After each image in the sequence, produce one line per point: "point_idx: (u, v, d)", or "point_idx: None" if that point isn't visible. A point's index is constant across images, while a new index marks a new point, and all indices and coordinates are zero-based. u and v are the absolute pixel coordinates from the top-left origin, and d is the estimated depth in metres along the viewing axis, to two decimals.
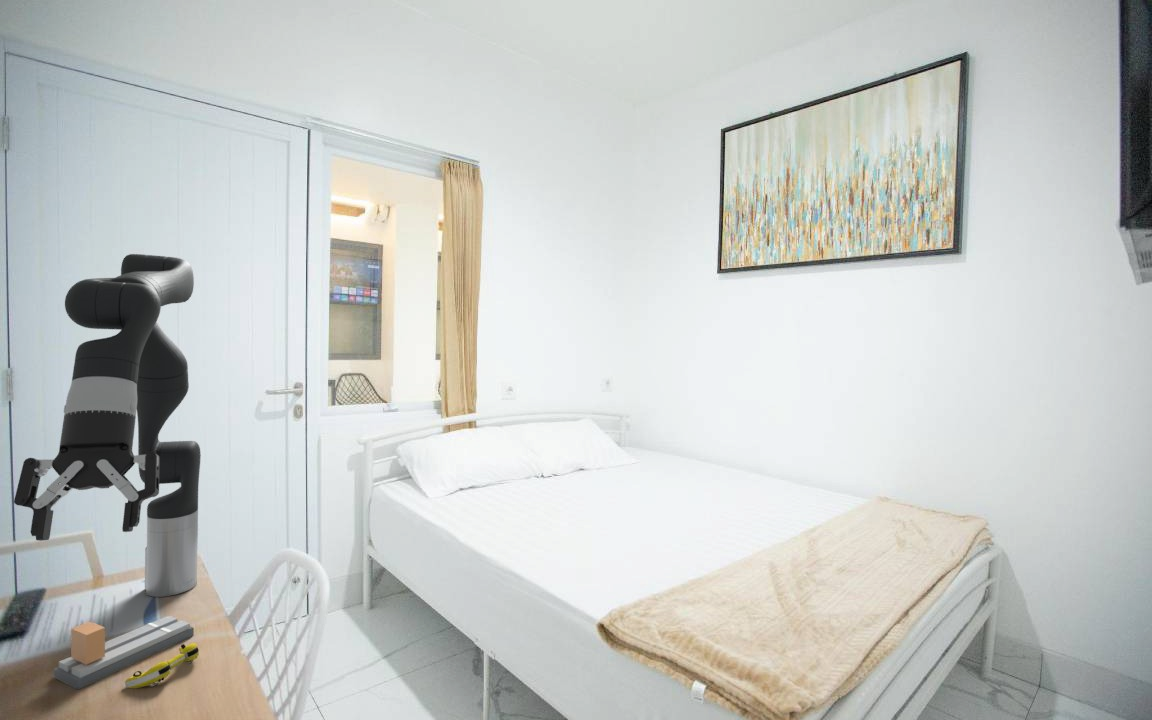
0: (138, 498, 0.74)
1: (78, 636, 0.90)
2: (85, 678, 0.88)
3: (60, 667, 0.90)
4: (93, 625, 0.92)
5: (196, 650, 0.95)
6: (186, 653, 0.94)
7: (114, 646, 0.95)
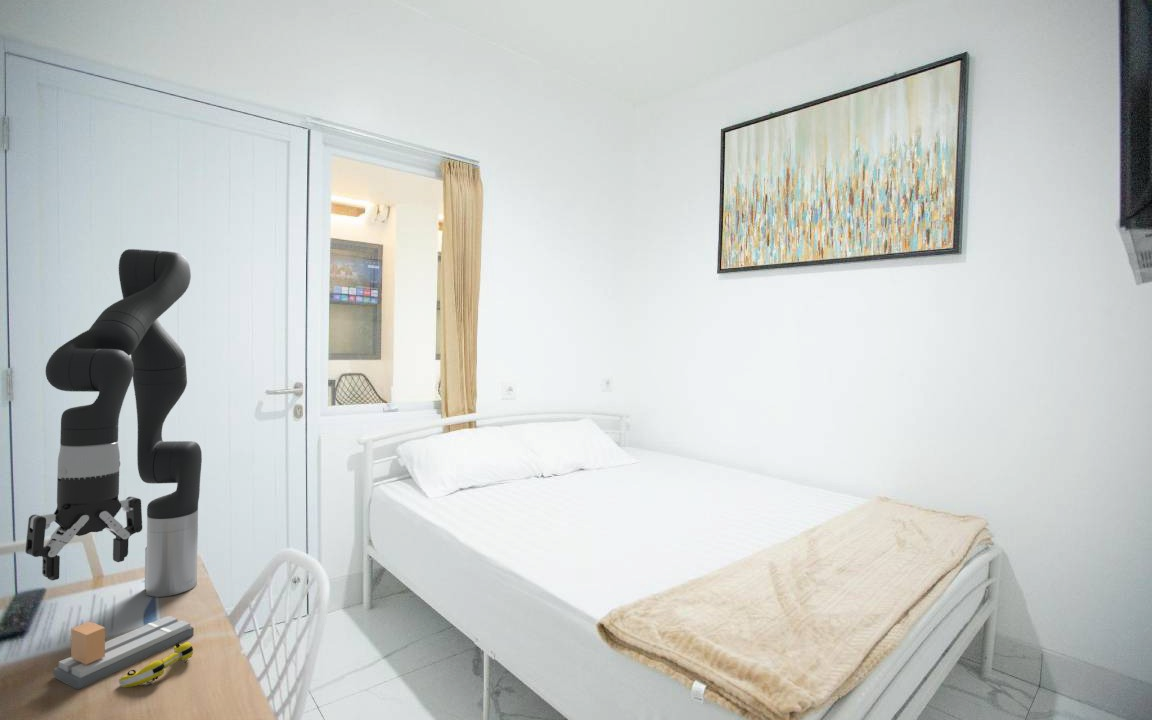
0: None
1: (78, 636, 0.90)
2: (85, 678, 0.88)
3: (60, 667, 0.90)
4: (93, 625, 0.92)
5: (190, 649, 0.95)
6: (181, 652, 0.94)
7: (114, 646, 0.95)
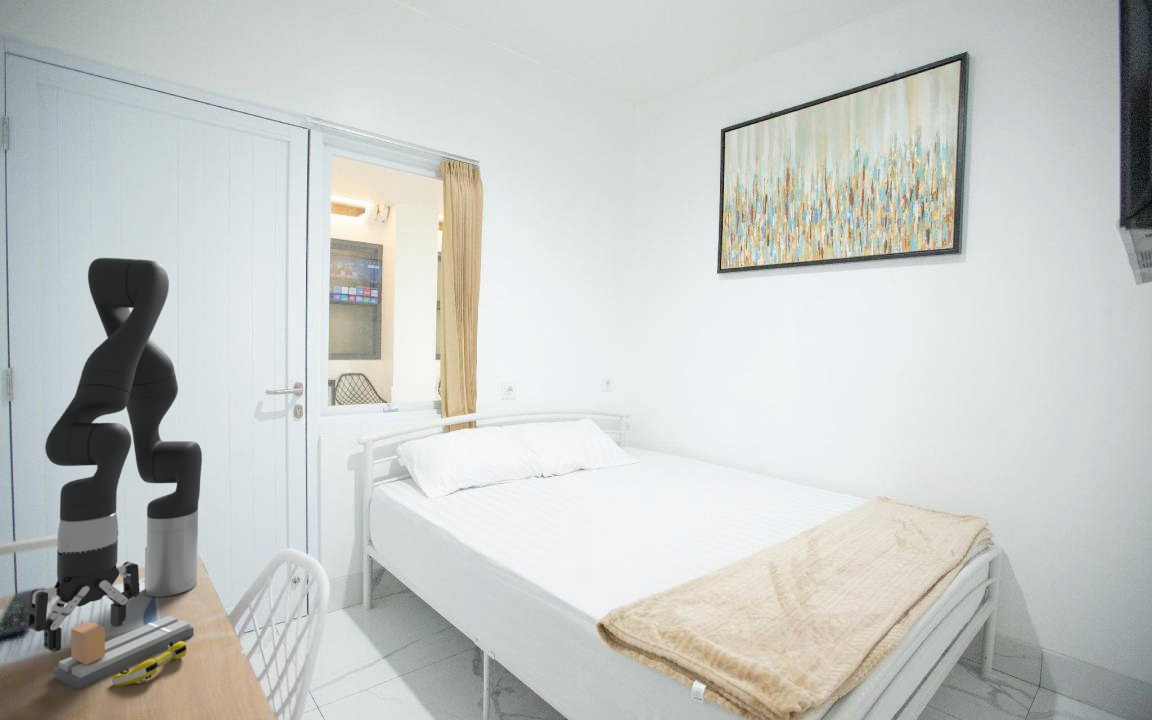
0: None
1: (78, 636, 0.90)
2: (85, 678, 0.88)
3: (60, 667, 0.90)
4: (93, 625, 0.92)
5: (184, 648, 0.95)
6: (174, 651, 0.94)
7: (114, 646, 0.95)
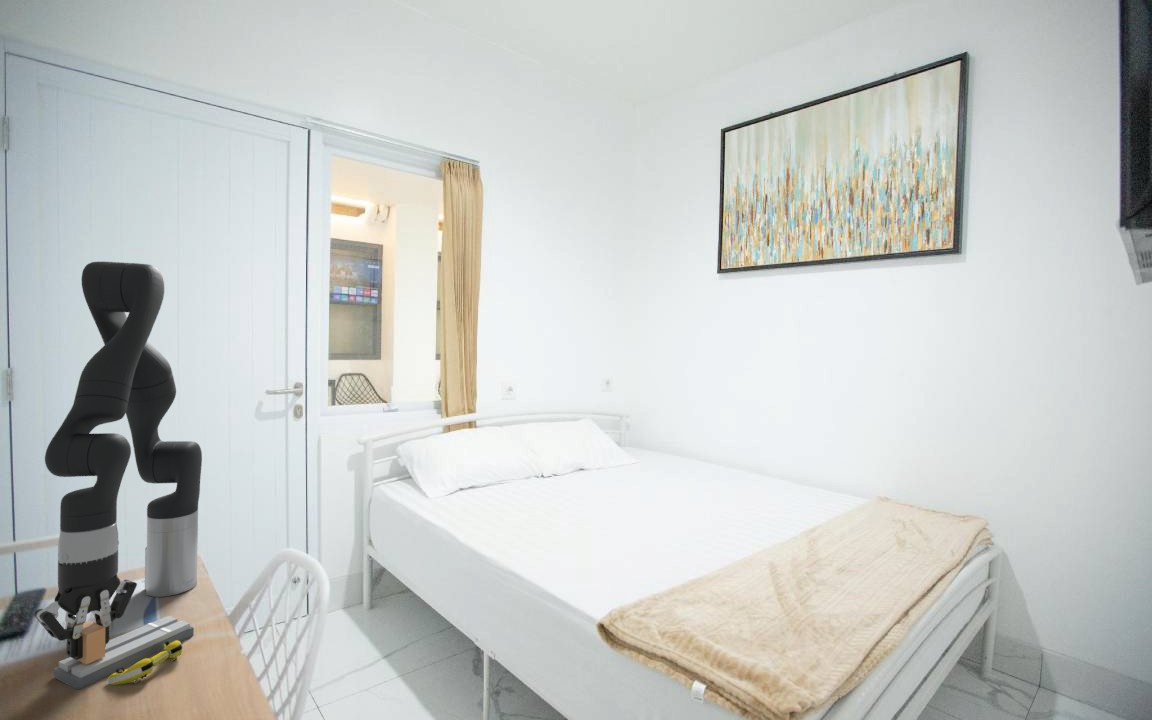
0: None
1: None
2: (85, 678, 0.88)
3: (60, 667, 0.90)
4: (93, 625, 0.92)
5: (180, 647, 0.95)
6: (170, 650, 0.95)
7: (114, 646, 0.95)
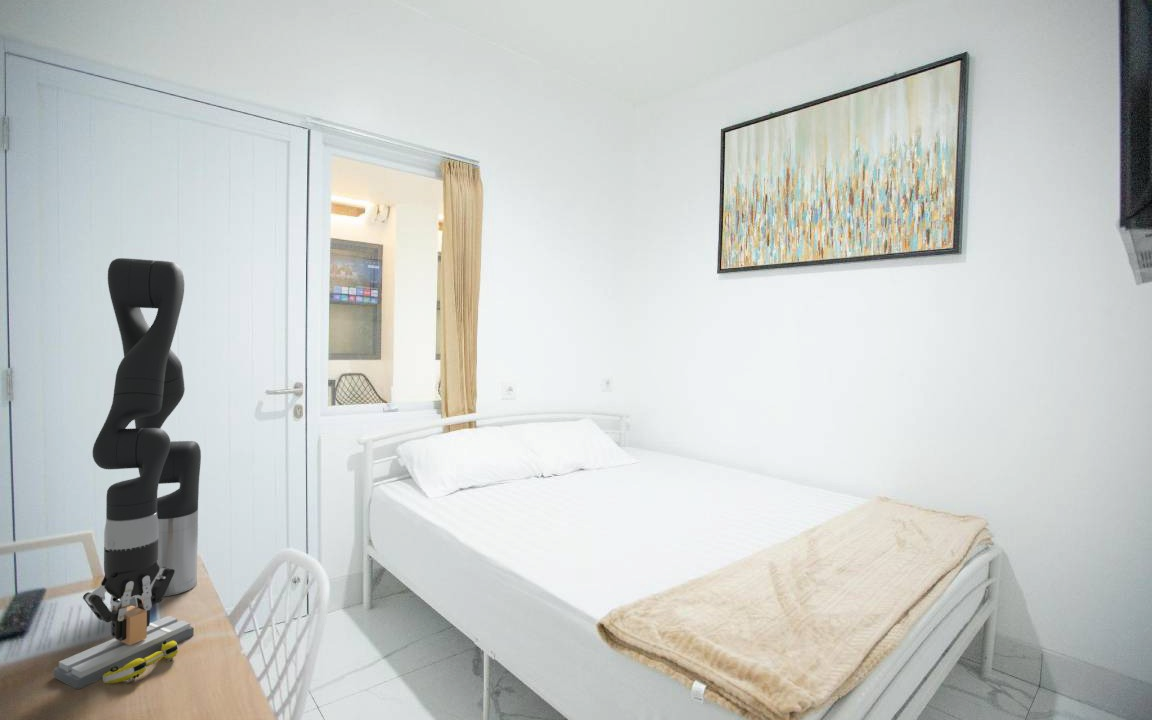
0: None
1: None
2: (85, 678, 0.88)
3: (60, 667, 0.90)
4: (135, 608, 0.98)
5: (175, 648, 0.95)
6: (165, 650, 0.94)
7: (114, 646, 0.95)
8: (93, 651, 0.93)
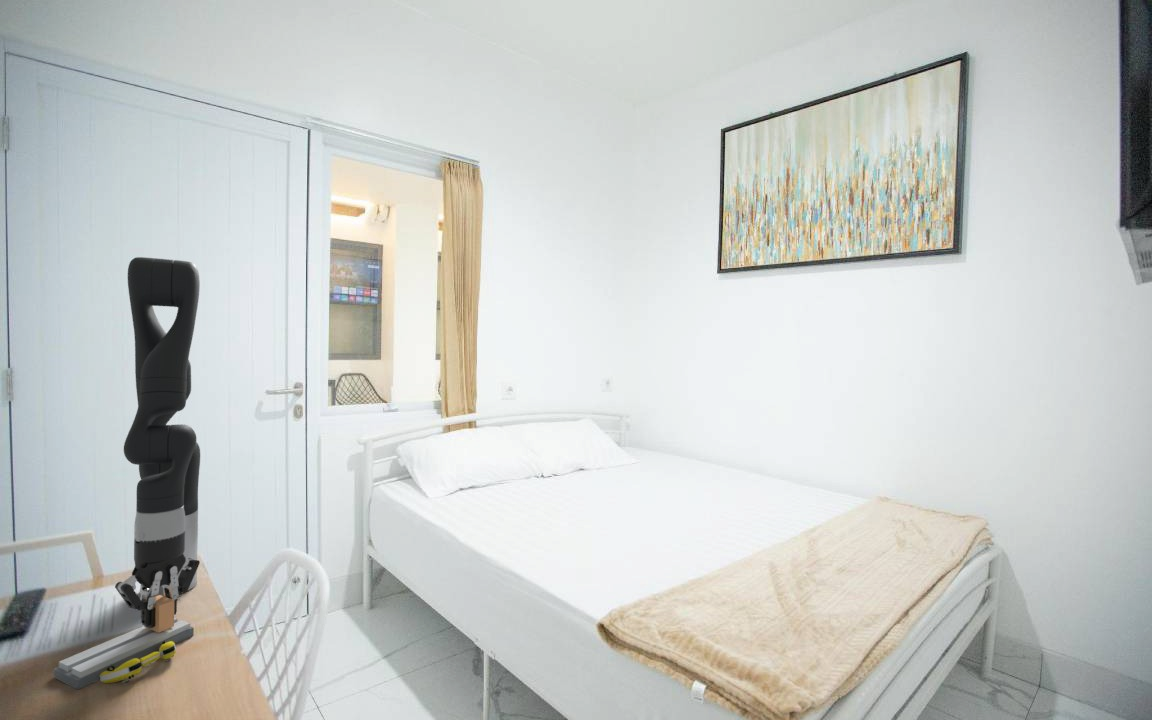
0: None
1: None
2: (85, 678, 0.88)
3: (60, 667, 0.90)
4: (163, 598, 1.02)
5: (171, 649, 0.95)
6: (162, 651, 0.94)
7: (114, 646, 0.95)
8: (93, 651, 0.93)
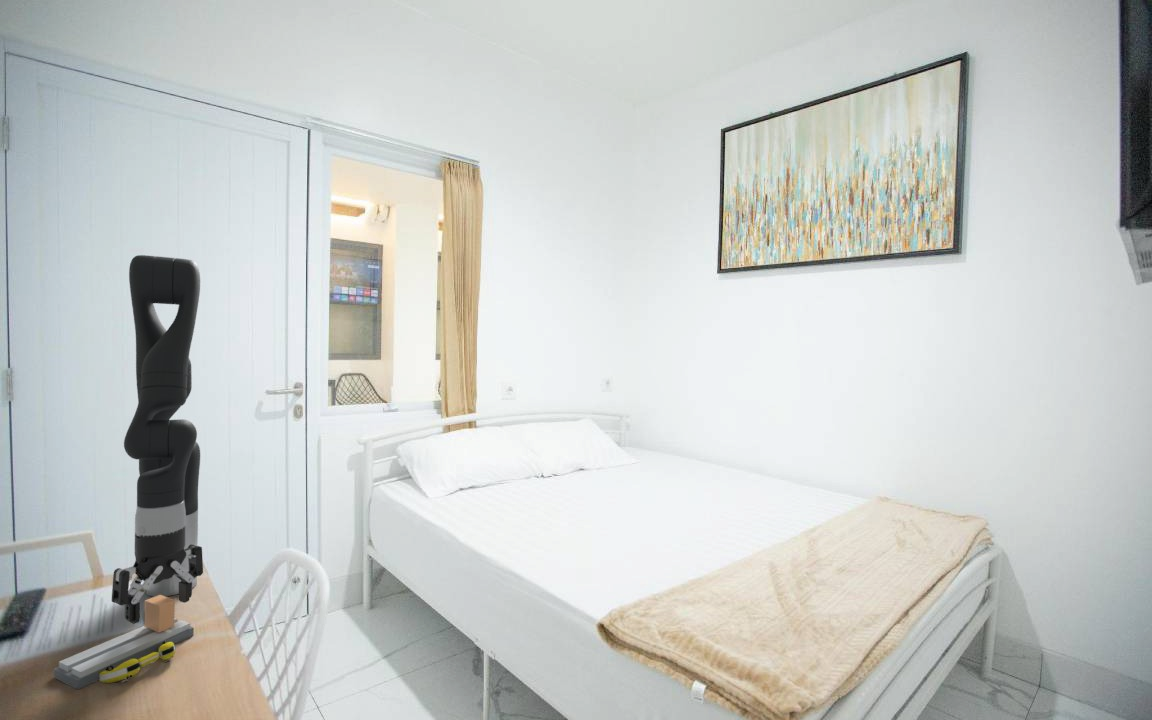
0: (192, 579, 1.06)
1: (151, 607, 1.00)
2: (85, 678, 0.88)
3: (60, 667, 0.90)
4: (163, 597, 1.02)
5: (170, 649, 0.94)
6: (161, 651, 0.94)
7: (114, 646, 0.95)
8: (93, 651, 0.93)
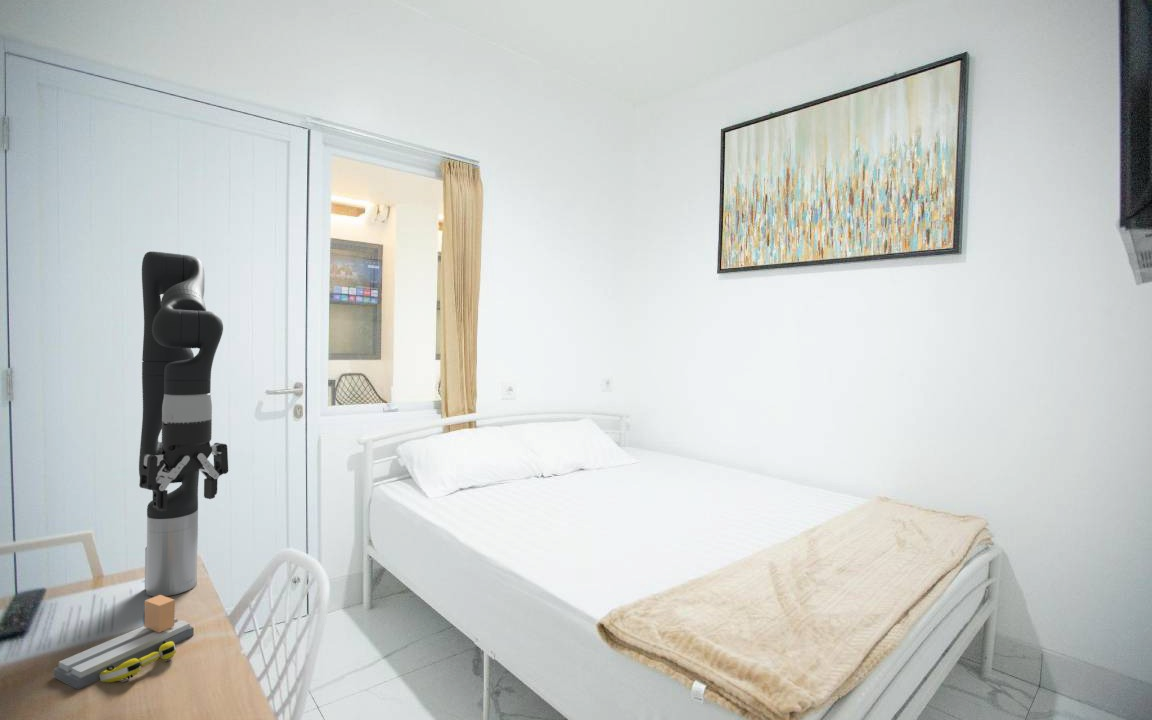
0: None
1: (151, 607, 1.00)
2: (85, 678, 0.88)
3: (60, 667, 0.90)
4: (163, 597, 1.02)
5: (171, 649, 0.95)
6: (161, 651, 0.94)
7: (114, 646, 0.95)
8: (93, 651, 0.93)
